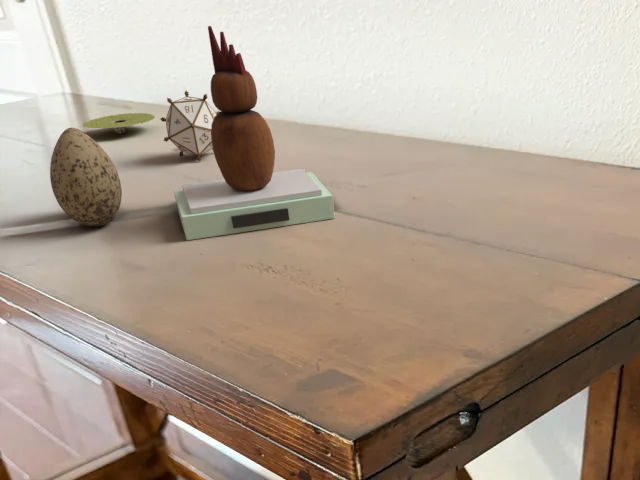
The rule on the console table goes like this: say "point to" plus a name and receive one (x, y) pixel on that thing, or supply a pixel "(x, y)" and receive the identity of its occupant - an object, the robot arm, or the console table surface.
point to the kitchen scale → (252, 205)
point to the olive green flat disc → (119, 121)
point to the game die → (190, 125)
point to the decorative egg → (84, 179)
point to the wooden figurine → (238, 122)
